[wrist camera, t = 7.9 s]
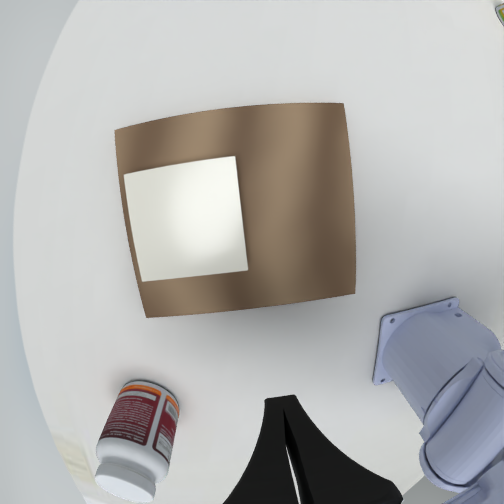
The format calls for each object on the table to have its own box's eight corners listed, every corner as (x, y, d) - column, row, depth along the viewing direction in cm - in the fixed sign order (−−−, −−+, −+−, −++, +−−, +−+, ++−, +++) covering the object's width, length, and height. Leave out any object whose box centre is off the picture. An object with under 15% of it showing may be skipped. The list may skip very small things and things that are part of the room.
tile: (235, 156, 16) (123, 174, 16) (248, 270, 18) (142, 281, 17) (235, 158, 17) (133, 174, 17) (247, 262, 19) (149, 273, 19)
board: (338, 106, 18) (343, 103, 17) (350, 288, 21) (355, 293, 20) (119, 132, 17) (114, 130, 16) (149, 312, 21) (146, 317, 20)
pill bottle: (112, 398, 23) (76, 478, 13) (136, 368, 22) (95, 460, 12) (162, 428, 25) (143, 511, 14) (192, 402, 24) (177, 498, 13)
